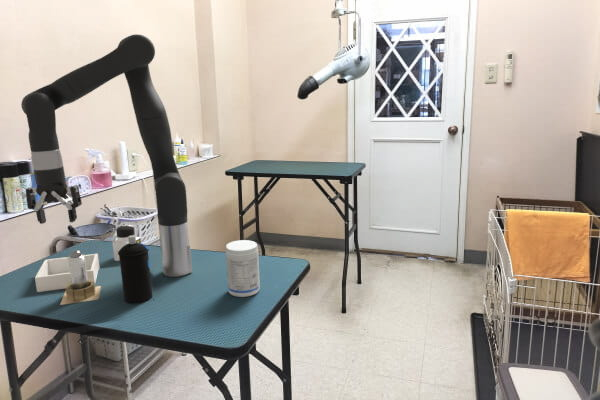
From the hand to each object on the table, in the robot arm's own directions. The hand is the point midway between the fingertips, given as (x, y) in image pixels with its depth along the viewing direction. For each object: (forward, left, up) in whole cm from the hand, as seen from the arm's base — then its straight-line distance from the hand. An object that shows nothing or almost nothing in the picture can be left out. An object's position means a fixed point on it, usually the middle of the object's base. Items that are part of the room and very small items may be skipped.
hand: (57, 222), depth 137 cm
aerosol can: (-20, +11, -24) cm, 33 cm away
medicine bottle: (-16, -29, -24) cm, 41 cm away
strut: (-4, +3, -22) cm, 22 cm away
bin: (+1, -12, -23) cm, 26 cm away
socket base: (-4, +3, -23) cm, 24 cm away
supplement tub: (-50, +14, -24) cm, 57 cm away
